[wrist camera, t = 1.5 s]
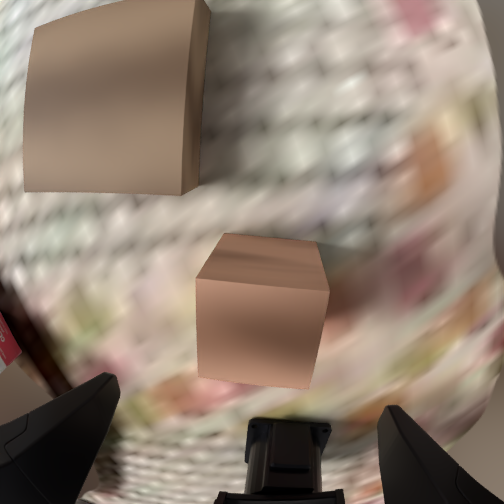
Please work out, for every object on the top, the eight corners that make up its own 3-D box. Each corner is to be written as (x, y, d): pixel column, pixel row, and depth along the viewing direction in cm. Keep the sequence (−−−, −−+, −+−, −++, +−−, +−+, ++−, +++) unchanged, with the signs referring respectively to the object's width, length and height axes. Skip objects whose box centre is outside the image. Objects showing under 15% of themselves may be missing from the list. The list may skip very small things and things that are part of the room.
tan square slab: (198, 186, 17) (181, 195, 14) (54, 183, 17) (24, 192, 14) (211, 11, 13) (196, -11, 10) (63, 37, 14) (34, 28, 11)
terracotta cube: (304, 320, 19) (308, 389, 13) (221, 312, 19) (198, 377, 13) (316, 241, 17) (330, 291, 11) (224, 232, 17) (195, 278, 12)
